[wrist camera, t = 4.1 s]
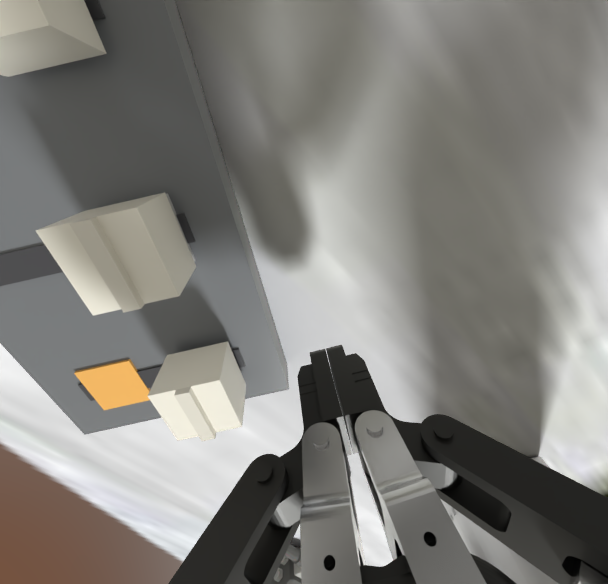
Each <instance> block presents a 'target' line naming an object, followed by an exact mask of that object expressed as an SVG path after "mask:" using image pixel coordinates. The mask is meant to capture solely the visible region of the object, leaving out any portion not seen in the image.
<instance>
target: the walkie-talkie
mask: <svg viewBox="0 0 608 584" xmlns="http://www.w3.org/2000/svg"><path fill="white" fill-rule="evenodd" d="M271 584H302V582H301V548H299V547H294V546H293V545H291V544H290V545H289V547H288V549H287V551H286V553H285V555H284V557H283V559H282V561H281V564H280V566H279V568H278V570H277V572H276V574H275V576H274V578H273V580H272V582H271Z"/></svg>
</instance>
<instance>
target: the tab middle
mask: <svg viewBox="0 0 608 584" xmlns="http://www.w3.org/2000/svg"><path fill="white" fill-rule="evenodd" d="M36 232H37V234H38V235H39V237H40V238H41V240H42V241H43V243H44V244H45V246H46V247H47V249H48V250H49V252H50V253H51V255H52V256H53V258H54V259H55V260H56V262H57V263H58V265H59V266H60V268H61V269H62V271H63V272H64V274H65V275H66V277H67V278H68V280H69V281H70V283H71V284H72V286H73V287H74V289H75V290H76V291H77V293H78V294H79V296H80V297H81V299H82V300H83V302H84V303H85V305H86V306H87V308H88V309H89V311H90V312H91V314H92V315H93V316H94V315H98V314H103V313H107V312H111V311H116V310H120V309H122V311H123V313H124V312H129V311H133V310H138V309H141V308H142V307H143V306H144V304H147V303H151V302H156V301H160V300H165V299H169V298H173V297H178V296H180V294H181V293H182V291H183V289H184V287H185V286H186V284H187V282H188V280H189V279H190V277H191V275H192V273H193V272H194V270H195V268H196V265H195V262H194V260H193V257H192V255H191V253H190V250H189V248H188V246H187V243H186V241H185V238H184V236H183V234H182V231H181V229H180V227H179V224H178V222H177V219H176V217H175V215H174V212H173V210H172V208H171V205H170V203H169V200H168V198H167V196H166V193H165V192H164V193H160V194H156V195H151V196H147V197H143V198H138V199H134V200H130V201H125V202H121V203H117V204H112V205H108V206H103V207H99V208H95V209H90V210H86V211H83V212H80V213H78V214H75V215H73V216H70V217H68V218H65V219H63V220H60V221H58V222H56V223H53V224H51V225H48V226H46V227H43V228H41V229H38V230H36Z"/></svg>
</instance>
